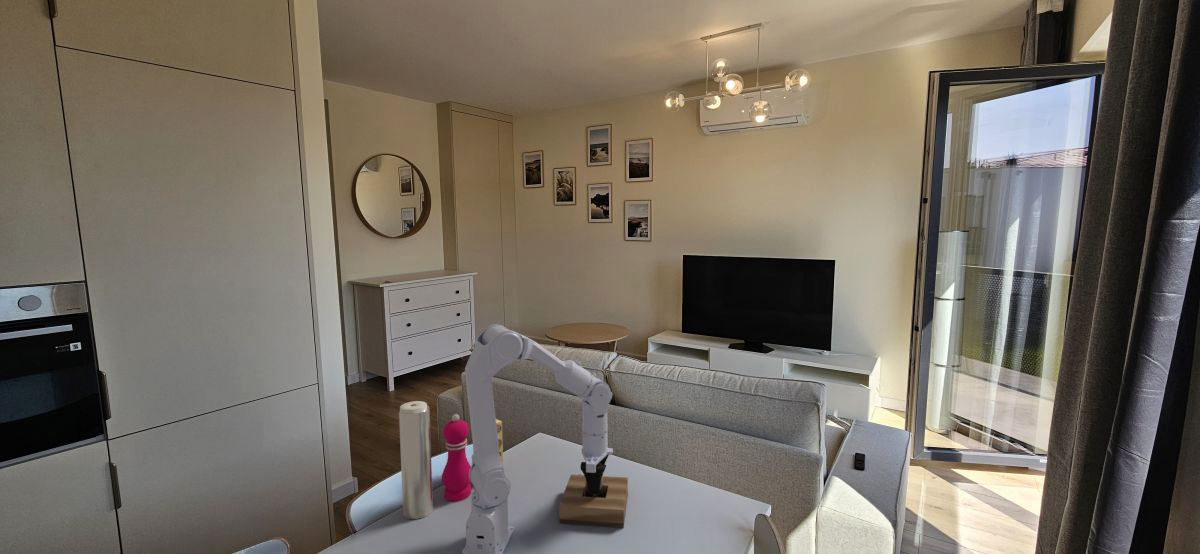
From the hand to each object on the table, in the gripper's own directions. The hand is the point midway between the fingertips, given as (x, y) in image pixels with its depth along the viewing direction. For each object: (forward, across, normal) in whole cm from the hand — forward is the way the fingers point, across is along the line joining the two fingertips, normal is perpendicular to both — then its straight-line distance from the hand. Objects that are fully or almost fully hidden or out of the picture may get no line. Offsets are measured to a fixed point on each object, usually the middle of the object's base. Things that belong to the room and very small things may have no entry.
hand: (595, 488), depth 110 cm
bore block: (+5, 0, 0) cm, 5 cm away
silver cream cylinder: (+5, -6, +40) cm, 41 cm away
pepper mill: (+5, +2, +34) cm, 34 cm away
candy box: (+5, +12, +30) cm, 33 cm away
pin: (+3, 0, 0) cm, 3 cm away
